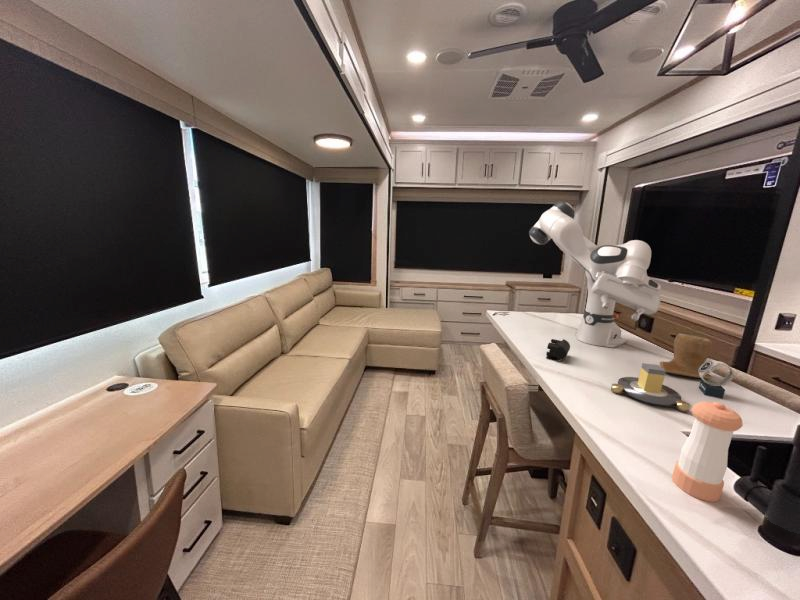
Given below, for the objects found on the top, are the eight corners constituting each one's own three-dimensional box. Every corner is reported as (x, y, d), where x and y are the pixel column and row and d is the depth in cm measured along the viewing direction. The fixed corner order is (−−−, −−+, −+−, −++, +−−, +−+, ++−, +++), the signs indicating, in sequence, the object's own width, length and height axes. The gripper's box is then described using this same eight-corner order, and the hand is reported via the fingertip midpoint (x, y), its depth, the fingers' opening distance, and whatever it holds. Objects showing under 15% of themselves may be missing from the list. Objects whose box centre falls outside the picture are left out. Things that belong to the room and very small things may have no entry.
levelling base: (637, 378, 111) (639, 372, 110) (705, 406, 94) (707, 399, 94) (602, 388, 103) (604, 382, 103) (669, 420, 86) (671, 413, 86)
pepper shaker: (681, 494, 62) (706, 408, 57) (665, 469, 69) (687, 390, 64) (728, 507, 59) (758, 418, 55) (707, 479, 66) (732, 398, 62)
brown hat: (698, 370, 119) (709, 333, 116) (715, 384, 109) (727, 344, 105) (650, 363, 125) (659, 327, 121) (662, 375, 114) (671, 337, 111)
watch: (691, 386, 107) (699, 356, 104) (722, 392, 103) (732, 361, 101) (696, 393, 102) (705, 362, 99) (730, 400, 98) (740, 368, 96)
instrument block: (637, 384, 102) (642, 363, 100) (653, 386, 101) (658, 365, 99) (643, 390, 98) (649, 368, 96) (660, 393, 97) (665, 371, 95)
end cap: (564, 363, 121) (567, 347, 120) (545, 359, 125) (547, 343, 124) (568, 356, 129) (571, 340, 128) (550, 351, 133) (552, 336, 132)
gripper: (603, 264, 108) (592, 296, 104) (666, 287, 103) (658, 323, 99) (593, 273, 114) (583, 304, 109) (653, 295, 109) (645, 329, 105)
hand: (619, 313), depth 104 cm, fingers open, 8 cm apart
